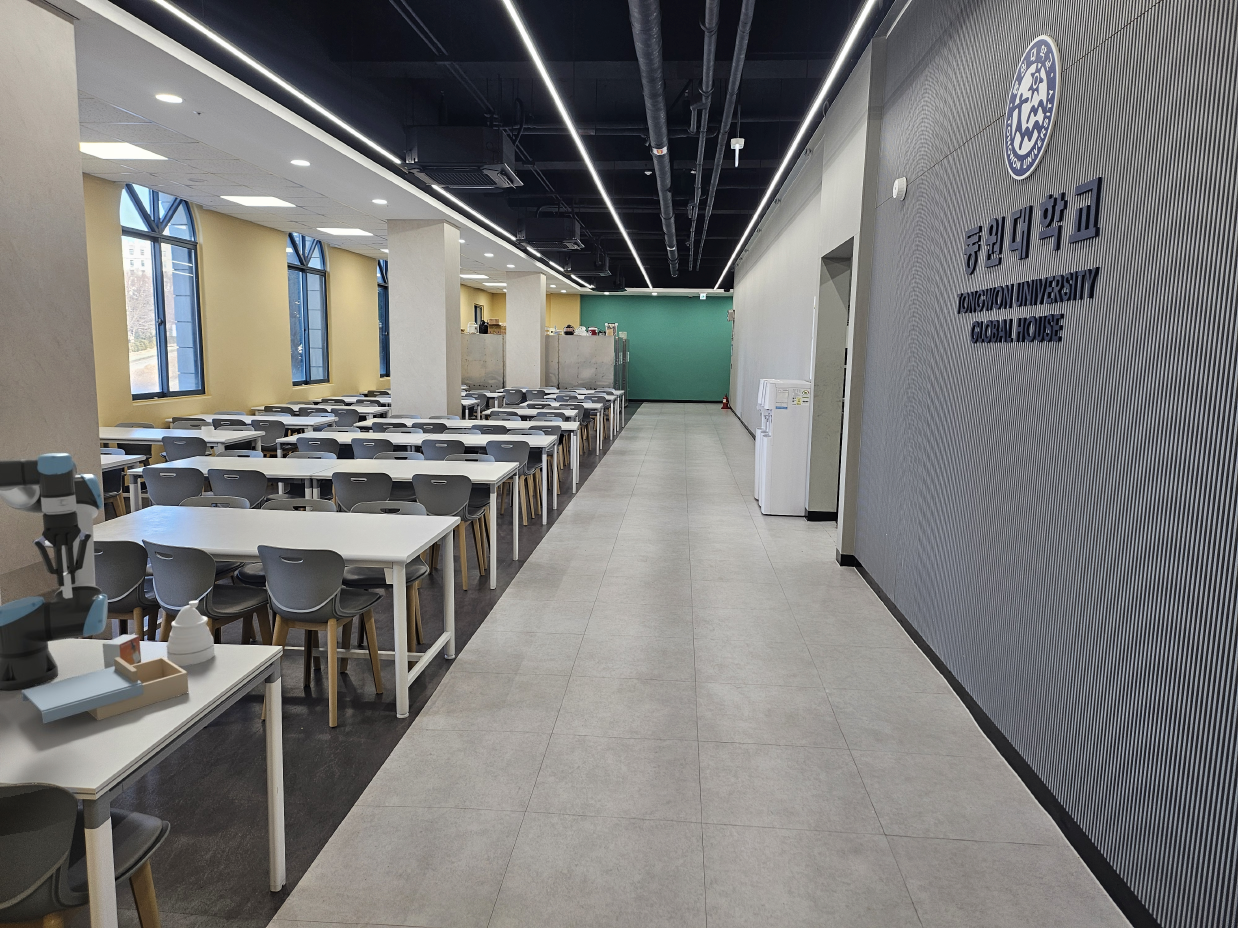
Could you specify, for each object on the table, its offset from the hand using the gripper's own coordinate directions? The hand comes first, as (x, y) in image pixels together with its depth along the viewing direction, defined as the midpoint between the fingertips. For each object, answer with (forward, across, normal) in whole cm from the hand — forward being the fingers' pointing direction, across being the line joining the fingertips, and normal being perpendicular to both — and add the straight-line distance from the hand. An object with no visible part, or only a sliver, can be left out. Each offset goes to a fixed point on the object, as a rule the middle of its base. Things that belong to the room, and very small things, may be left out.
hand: (67, 596), depth 210 cm
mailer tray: (+28, +10, -12) cm, 32 cm away
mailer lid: (+25, -1, -12) cm, 27 cm away
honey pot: (+29, +32, +6) cm, 43 cm away
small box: (+29, +14, +8) cm, 33 cm away
